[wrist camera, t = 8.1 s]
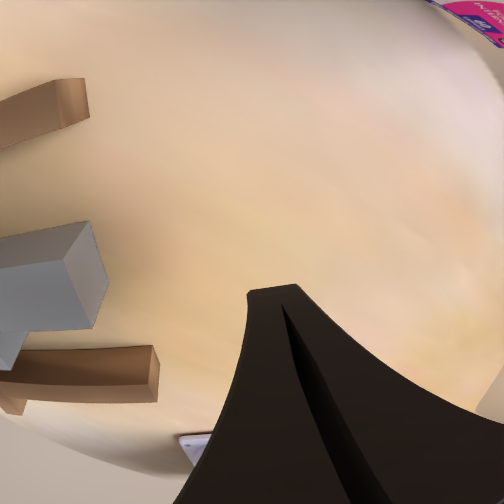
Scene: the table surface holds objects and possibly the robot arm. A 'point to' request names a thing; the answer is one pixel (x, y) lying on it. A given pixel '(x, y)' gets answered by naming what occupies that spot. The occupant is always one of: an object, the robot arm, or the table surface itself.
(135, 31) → the table surface
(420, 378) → the table surface
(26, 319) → the t block
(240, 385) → the robot arm
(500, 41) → the supplement box
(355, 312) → the table surface
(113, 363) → the walnut bay
